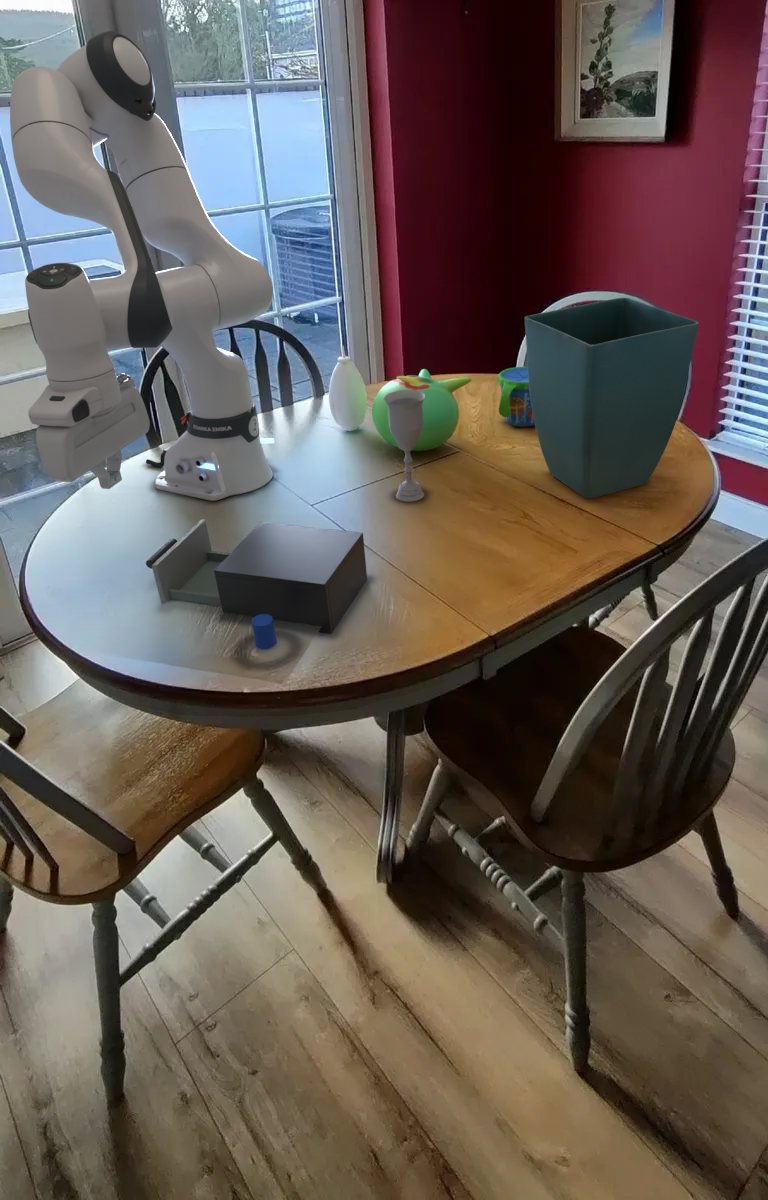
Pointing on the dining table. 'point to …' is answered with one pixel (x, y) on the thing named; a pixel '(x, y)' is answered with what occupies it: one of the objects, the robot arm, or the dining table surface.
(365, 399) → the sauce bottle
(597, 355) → the flower pot
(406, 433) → the chalice
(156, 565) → the grey drawer
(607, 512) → the dining table surface
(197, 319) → the robot arm
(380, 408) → the toy bird
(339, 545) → the dark grey drawer cabinet
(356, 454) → the dining table surface
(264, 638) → the lid
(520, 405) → the snack cup
